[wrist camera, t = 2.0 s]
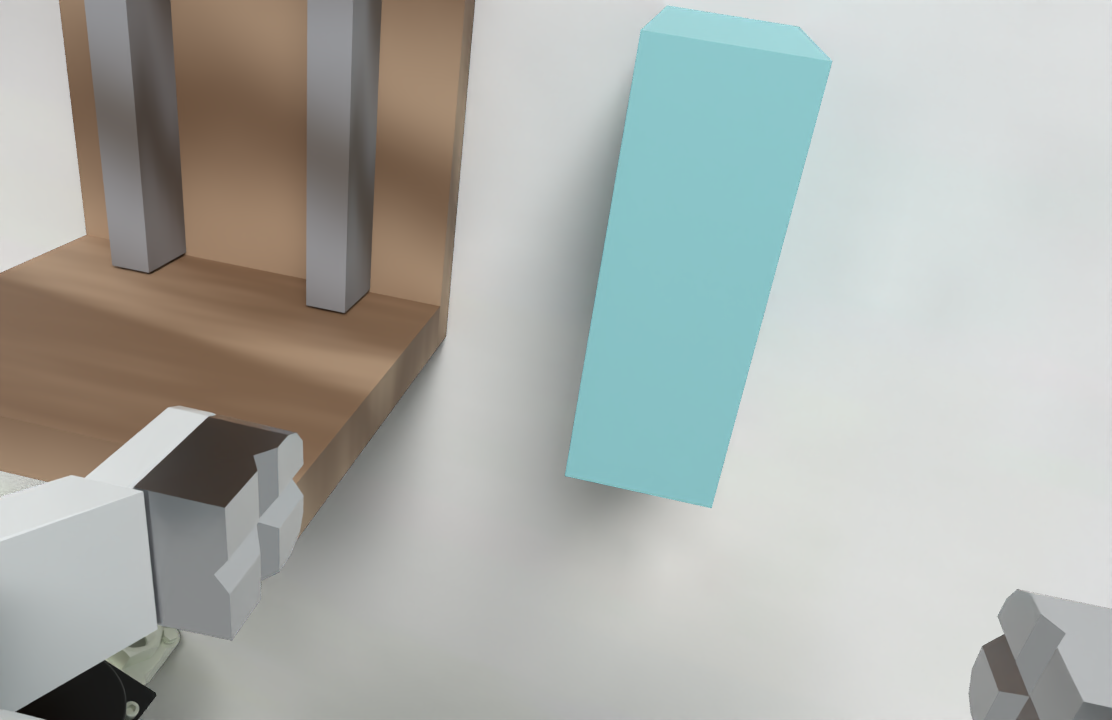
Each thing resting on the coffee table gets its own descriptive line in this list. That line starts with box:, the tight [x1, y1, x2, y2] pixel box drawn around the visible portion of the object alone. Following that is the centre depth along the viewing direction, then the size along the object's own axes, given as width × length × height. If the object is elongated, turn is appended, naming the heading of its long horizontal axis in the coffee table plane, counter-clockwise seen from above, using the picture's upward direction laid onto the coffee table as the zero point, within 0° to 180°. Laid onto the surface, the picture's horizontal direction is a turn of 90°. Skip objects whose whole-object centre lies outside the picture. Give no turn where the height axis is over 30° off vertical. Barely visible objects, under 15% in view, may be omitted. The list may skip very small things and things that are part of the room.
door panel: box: [565, 6, 832, 508], centre depth 21 cm, size 10×4×8 cm, turn 172°
